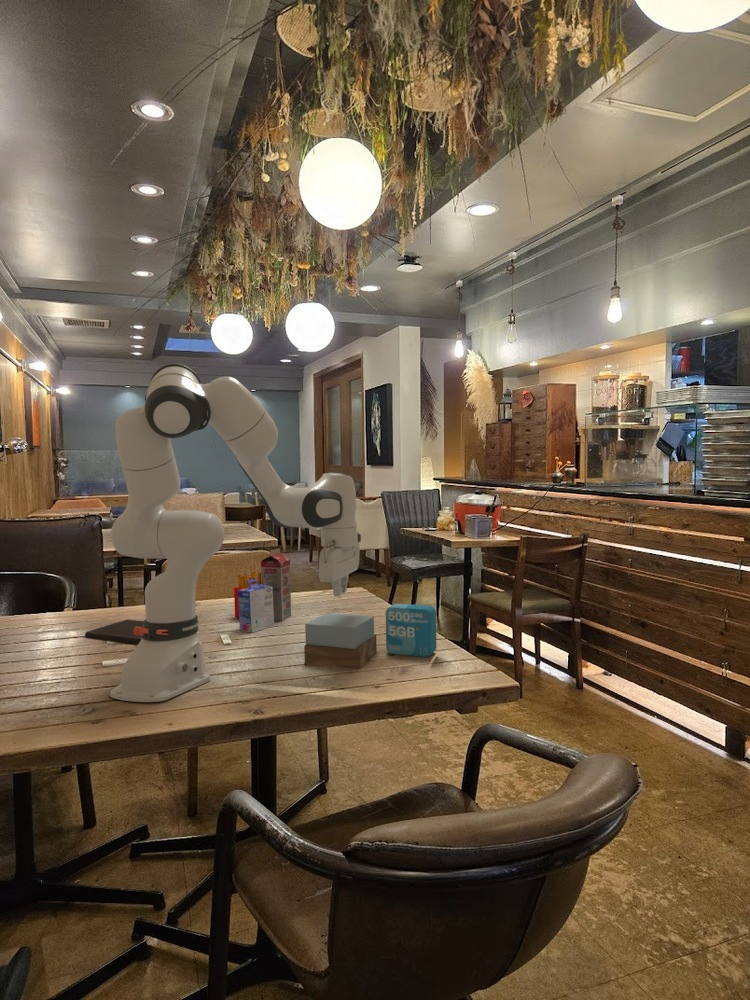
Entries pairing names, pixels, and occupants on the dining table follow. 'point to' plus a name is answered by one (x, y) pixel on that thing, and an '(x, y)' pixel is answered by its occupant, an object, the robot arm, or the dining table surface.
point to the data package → (411, 630)
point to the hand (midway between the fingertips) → (340, 594)
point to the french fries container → (243, 585)
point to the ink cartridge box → (255, 607)
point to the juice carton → (278, 583)
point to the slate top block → (339, 630)
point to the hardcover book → (117, 632)
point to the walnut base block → (340, 655)
